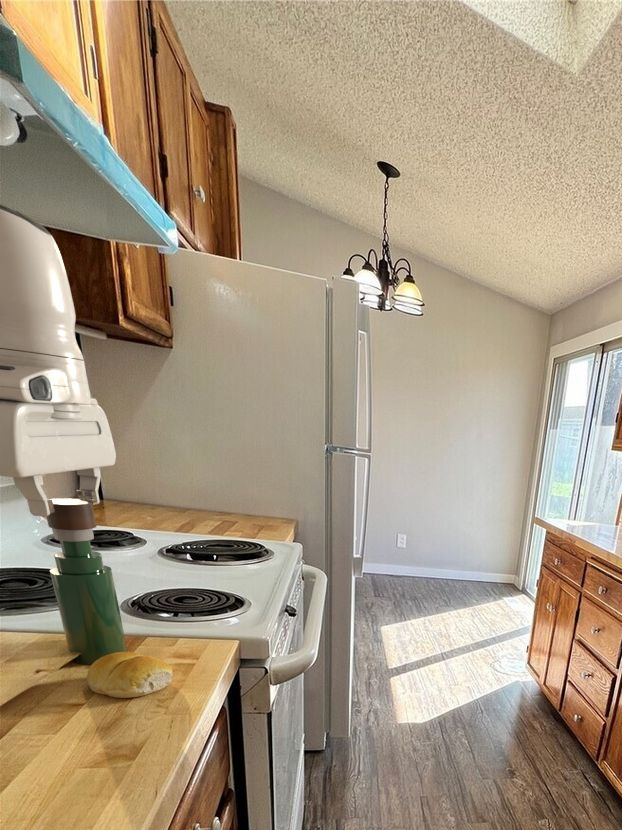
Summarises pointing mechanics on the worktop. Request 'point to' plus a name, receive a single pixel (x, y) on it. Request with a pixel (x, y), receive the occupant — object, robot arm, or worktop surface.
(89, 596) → the green bottle
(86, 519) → the brown cylinder puck
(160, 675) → the bread roll
